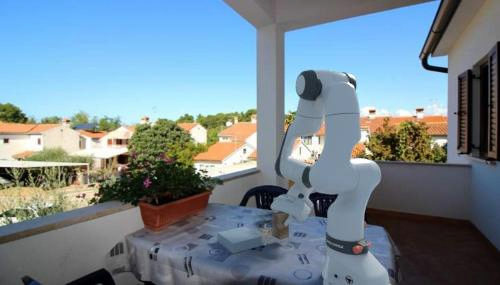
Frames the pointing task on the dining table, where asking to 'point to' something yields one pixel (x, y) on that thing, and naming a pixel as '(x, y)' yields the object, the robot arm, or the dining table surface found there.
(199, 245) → the dining table surface
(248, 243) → the slate base
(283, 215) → the walnut block
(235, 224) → the dining table surface
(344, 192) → the robot arm
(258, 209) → the dining table surface
